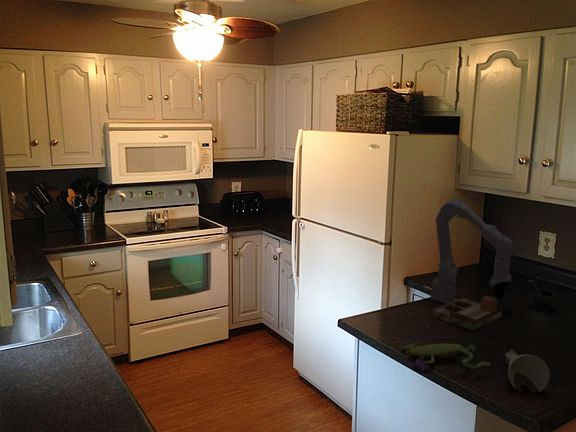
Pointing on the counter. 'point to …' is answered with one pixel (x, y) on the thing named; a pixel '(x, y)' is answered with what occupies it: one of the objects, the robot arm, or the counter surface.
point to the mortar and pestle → (540, 297)
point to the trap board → (466, 314)
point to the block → (488, 303)
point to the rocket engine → (528, 369)
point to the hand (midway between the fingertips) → (498, 298)
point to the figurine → (439, 350)
